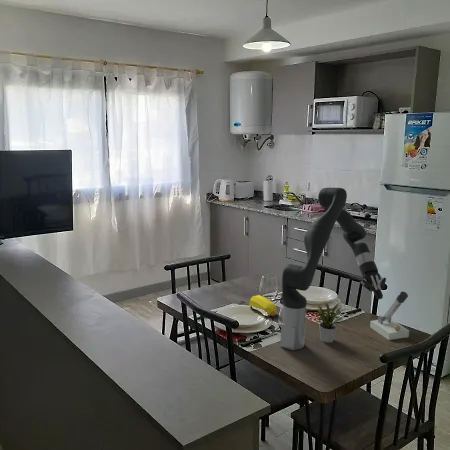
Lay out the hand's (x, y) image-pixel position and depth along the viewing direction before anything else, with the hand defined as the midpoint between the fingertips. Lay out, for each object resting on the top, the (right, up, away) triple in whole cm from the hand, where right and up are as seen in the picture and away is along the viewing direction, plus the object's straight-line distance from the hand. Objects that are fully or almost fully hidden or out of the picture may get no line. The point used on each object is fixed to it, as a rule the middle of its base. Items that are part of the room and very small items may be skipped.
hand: (380, 298), depth 203 cm
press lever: (+1, -9, -2) cm, 10 cm away
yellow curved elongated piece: (-51, -9, +16) cm, 54 cm away
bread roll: (-36, -6, +30) cm, 47 cm away
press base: (+2, -14, -5) cm, 15 cm away
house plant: (-25, -15, -13) cm, 32 cm away
